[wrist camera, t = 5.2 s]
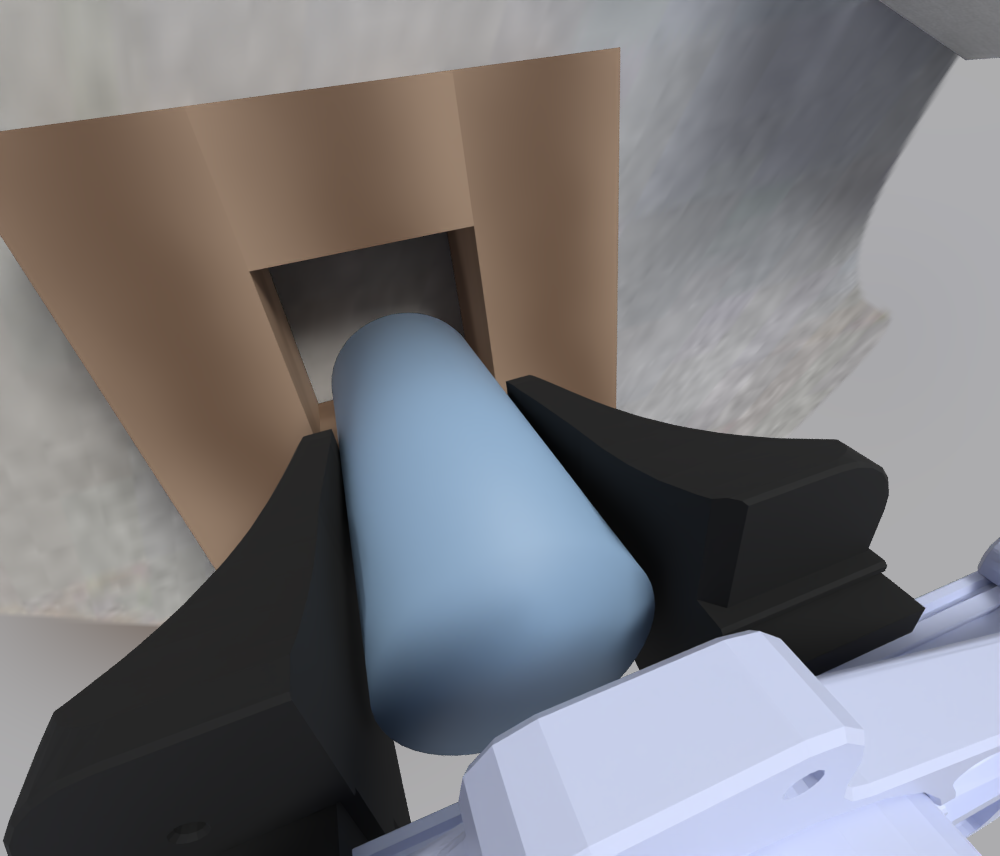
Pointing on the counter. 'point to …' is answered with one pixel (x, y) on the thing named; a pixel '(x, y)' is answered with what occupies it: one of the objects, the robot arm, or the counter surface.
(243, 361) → the socket board
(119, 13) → the counter surface
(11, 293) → the counter surface
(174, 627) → the robot arm
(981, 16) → the grey angular block
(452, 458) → the peg
